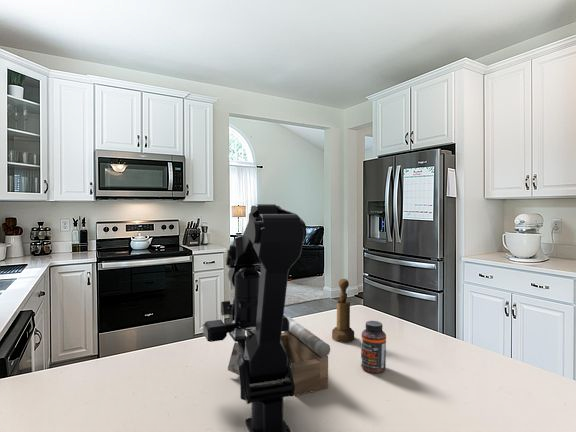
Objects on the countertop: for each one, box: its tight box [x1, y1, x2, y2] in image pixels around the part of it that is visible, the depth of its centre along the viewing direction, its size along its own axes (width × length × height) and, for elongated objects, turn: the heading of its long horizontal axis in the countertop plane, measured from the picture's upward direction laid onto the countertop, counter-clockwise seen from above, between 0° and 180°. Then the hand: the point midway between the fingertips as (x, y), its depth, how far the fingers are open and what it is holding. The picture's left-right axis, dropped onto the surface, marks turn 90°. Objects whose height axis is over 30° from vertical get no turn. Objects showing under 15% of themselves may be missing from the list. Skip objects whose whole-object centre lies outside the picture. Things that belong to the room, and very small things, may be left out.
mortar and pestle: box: [331, 278, 355, 343], centre depth 107 cm, size 7×6×18 cm
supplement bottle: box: [360, 320, 387, 374], centre depth 87 cm, size 6×6×11 cm
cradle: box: [281, 316, 331, 397], centre depth 85 cm, size 20×8×10 cm, turn 23°
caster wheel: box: [227, 341, 243, 376], centre depth 86 cm, size 7×11×10 cm
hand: (246, 363), depth 81 cm, fingers closed
